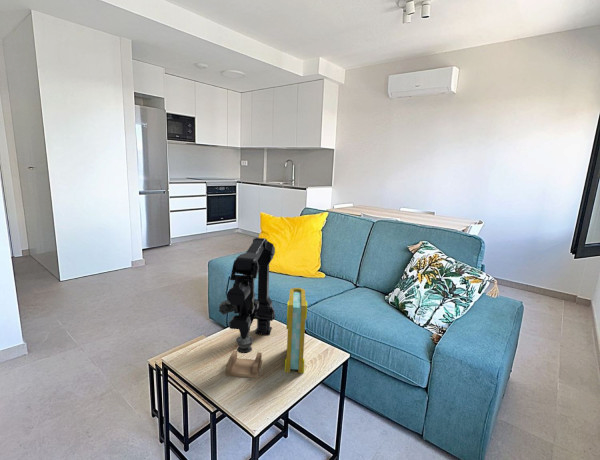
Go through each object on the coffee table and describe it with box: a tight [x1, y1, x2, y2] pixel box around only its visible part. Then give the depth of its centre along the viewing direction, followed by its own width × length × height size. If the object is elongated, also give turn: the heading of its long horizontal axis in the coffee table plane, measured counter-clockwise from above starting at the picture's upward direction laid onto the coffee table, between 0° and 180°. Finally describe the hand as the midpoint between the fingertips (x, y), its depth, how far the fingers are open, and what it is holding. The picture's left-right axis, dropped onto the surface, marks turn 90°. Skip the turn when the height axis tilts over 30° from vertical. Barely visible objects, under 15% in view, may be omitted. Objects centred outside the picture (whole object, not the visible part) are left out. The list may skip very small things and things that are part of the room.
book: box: [284, 287, 308, 374], centre depth 121 cm, size 17×7×25 cm, turn 0°
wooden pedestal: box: [224, 350, 263, 379], centre depth 115 cm, size 9×11×4 cm
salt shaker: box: [235, 327, 254, 354], centre depth 113 cm, size 6×6×12 cm
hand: (244, 336), depth 113 cm, fingers closed on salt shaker, 3 cm apart
